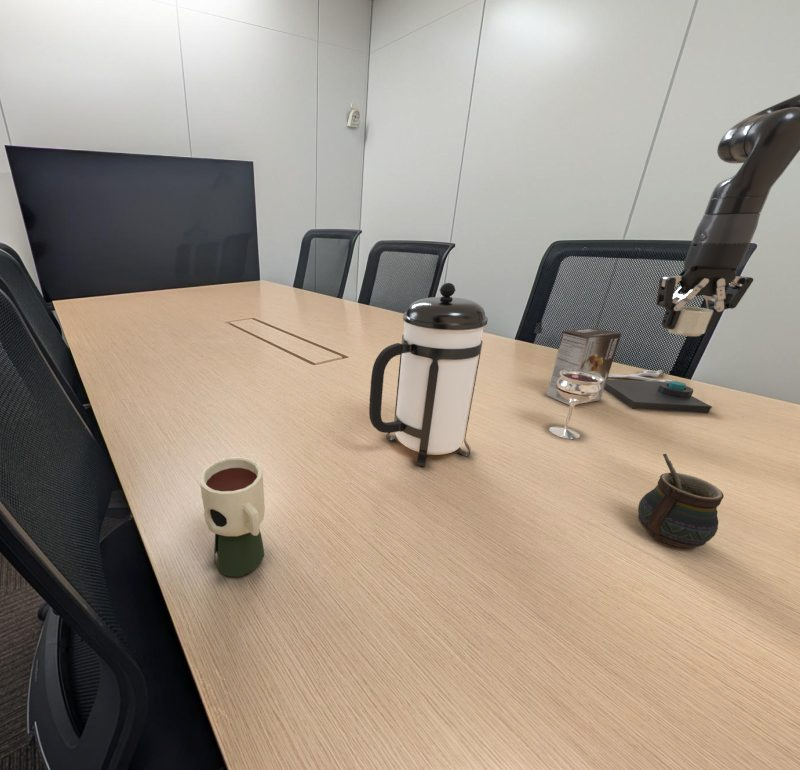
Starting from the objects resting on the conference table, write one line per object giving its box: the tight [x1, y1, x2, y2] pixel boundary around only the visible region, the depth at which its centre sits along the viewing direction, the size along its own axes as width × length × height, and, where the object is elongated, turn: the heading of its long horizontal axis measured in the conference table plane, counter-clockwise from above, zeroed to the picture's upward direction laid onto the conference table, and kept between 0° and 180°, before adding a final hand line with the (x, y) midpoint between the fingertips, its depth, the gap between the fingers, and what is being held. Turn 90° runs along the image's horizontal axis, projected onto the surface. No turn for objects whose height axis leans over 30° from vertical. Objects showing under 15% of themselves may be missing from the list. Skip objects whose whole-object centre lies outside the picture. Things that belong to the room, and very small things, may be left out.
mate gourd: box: [637, 453, 725, 549], centre depth 47 cm, size 7×8×10 cm
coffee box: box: [546, 327, 622, 406], centre depth 85 cm, size 9×6×16 cm
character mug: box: [199, 456, 266, 578], centre depth 45 cm, size 11×7×13 cm, turn 34°
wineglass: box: [548, 370, 604, 440], centre depth 71 cm, size 7×7×12 cm
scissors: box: [608, 369, 673, 383], centre depth 98 cm, size 11×1×20 cm
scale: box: [604, 378, 712, 414], centre depth 87 cm, size 14×14×3 cm
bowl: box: [666, 305, 714, 337], centre depth 76 cm, size 6×6×5 cm
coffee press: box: [368, 282, 489, 468], centre depth 64 cm, size 17×16×30 cm
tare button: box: [668, 380, 687, 390], centre depth 85 cm, size 3×3×1 cm
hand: (685, 328), depth 76 cm, fingers closed on bowl, 5 cm apart
